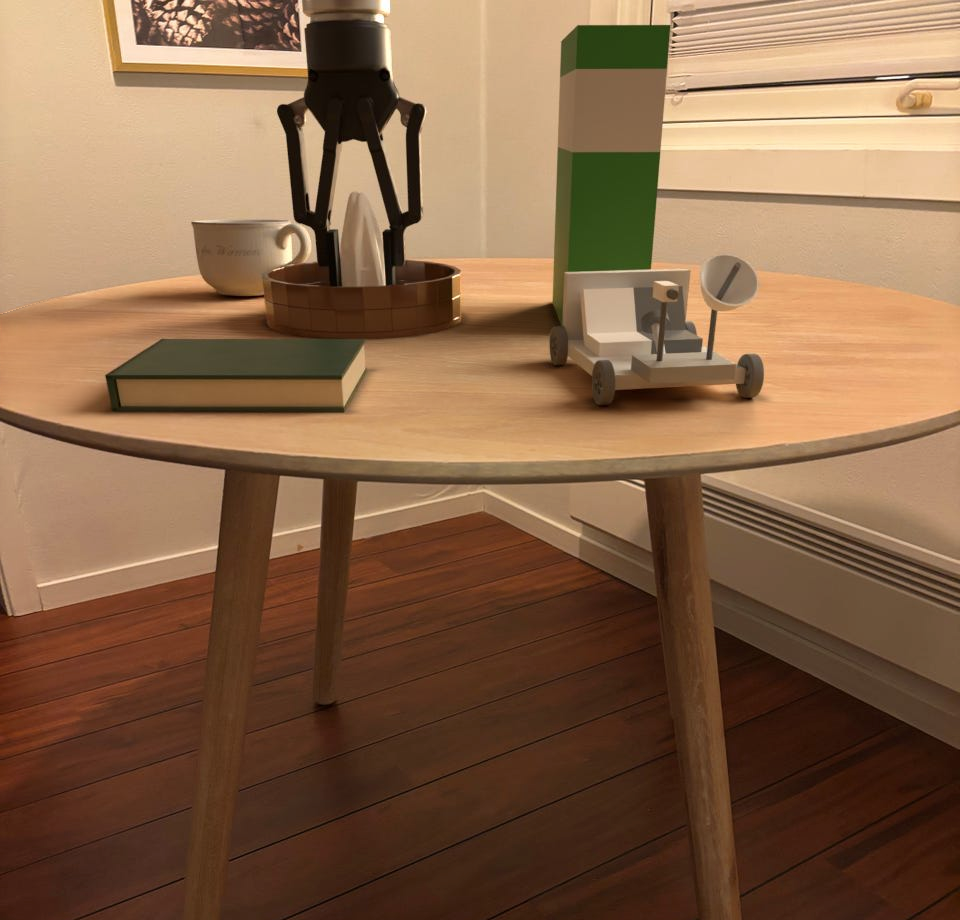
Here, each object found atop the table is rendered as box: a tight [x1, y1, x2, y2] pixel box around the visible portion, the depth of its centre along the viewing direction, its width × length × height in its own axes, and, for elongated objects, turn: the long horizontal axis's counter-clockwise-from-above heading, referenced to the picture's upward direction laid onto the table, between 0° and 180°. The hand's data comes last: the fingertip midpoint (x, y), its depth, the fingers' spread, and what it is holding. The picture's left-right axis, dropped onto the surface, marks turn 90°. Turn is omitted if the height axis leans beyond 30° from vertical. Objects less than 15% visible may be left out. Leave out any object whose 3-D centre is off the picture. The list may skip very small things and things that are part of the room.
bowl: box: [262, 259, 463, 340], centre depth 93 cm, size 19×19×4 cm
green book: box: [104, 338, 368, 413], centre depth 69 cm, size 16×12×2 cm
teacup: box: [190, 219, 312, 297], centre depth 106 cm, size 14×11×8 cm
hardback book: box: [552, 24, 672, 326], centre depth 89 cm, size 18×7×24 cm, turn 0°
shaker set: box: [339, 190, 386, 286], centre depth 91 cm, size 12×4×11 cm, turn 9°
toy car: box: [548, 252, 765, 406], centre depth 68 cm, size 18×10×12 cm
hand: (364, 301), depth 93 cm, fingers closed on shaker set, 5 cm apart
